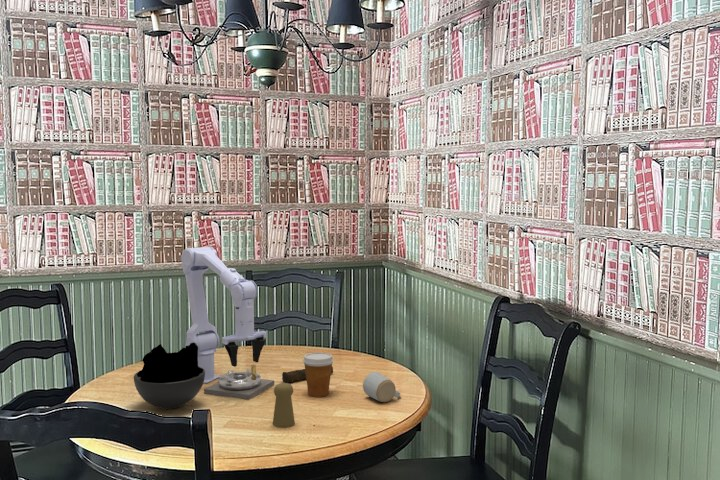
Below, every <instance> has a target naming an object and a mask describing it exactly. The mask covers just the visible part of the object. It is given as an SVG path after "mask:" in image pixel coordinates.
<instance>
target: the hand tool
mask: <svg viewBox="0 0 720 480" xmlns="http://www.w3.org/2000/svg"><path fill="white" fill-rule="evenodd" d="M333 373H334V367H333V366H332V368H331V375H333ZM281 375H282V378H281V379H282V383H288V384H292V383H293V382H296V381H300V380H306V372H305V368H302V369H296V370H290V371H283V372H282V373H281Z"/></svg>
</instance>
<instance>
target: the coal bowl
mask: <svg viewBox="0 0 720 480" xmlns="http://www.w3.org/2000/svg"><path fill="white" fill-rule="evenodd" d="M141 361H142V363H143V367H142V368H141V370H138V371H137V372H136V373H134V376H133V383H134V386H135V387H134V388H135V389H136V391H137V392H138V394H139V396H140V397H141V398H142V399H143V400H144V401H145V402H146V403H148V405H151V406H153V407H155V408H158V409H164V410H165V409H166V410H167V409H168V410H169V409H176V408H179V407H182V406H184V405H186V404H188V403H189V402H191V401H192V400H193V399H194V398H195V397H196V396H197V395H198V393H200V392H201V389H202V387H203V384H204V383H203V382H204V378H205V370H204V369H203V368H201V367H198V346H197V345H196V343H190V345H189V346H186V345H185V347H182V348H181V349H179V351H177V352H167V350H166V349H165V348H164V347H163V345H162V344H161V343H160V344H158V345H157V346H155V347H153V348H152V349H150V352H147V353H146V354H144V355H143V357H142V360H141Z"/></svg>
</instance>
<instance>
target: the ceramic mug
mask: <svg viewBox="0 0 720 480" xmlns="http://www.w3.org/2000/svg"><path fill="white" fill-rule="evenodd" d="M362 388H363V389H362V390H363V392H364V394H366V396H368V397H370V398H371V399H374V400H376V401H377V402H380V403H388V402H389V401H391V400H392V399H393V398H398V399H399V398H400V396H401V392H400V391H398V390H397V389H396V384H395V383H394V382H393V380H392V379H390V378H389V377H387V376H385V375H383V374H382V373H380V372H378V371H373V372H369V373H368V374H367V375H366V376H365V378H364V380H363V383H362Z"/></svg>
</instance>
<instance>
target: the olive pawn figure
mask: <svg viewBox="0 0 720 480" xmlns="http://www.w3.org/2000/svg"><path fill="white" fill-rule="evenodd" d="M273 387H274V388H273V393H274V396H275V402H274V410H273V419H272V426H273V427H276V428H279V429H281V428H284V429H286V428H290V427H292V426H295V424H296V422H295V421H296V420H295V413H294V407H293V401H292V400H293V399H292V395H293V394H294V387H293V386H292V383H284V382H282V383H277V384H275V385H274V386H273Z"/></svg>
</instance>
